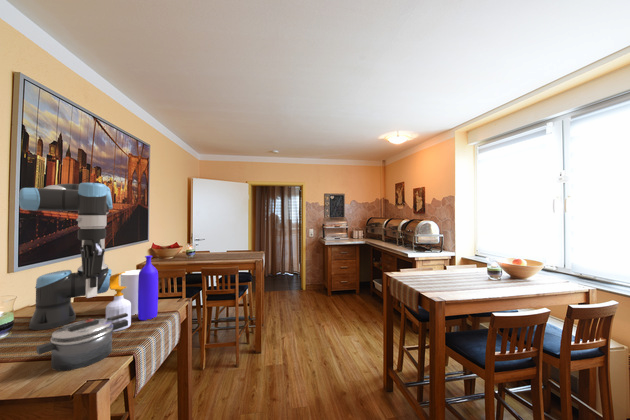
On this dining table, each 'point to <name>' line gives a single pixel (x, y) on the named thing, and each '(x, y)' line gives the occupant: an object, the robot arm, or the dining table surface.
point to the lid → (84, 327)
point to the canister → (131, 288)
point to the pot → (81, 349)
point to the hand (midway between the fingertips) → (91, 296)
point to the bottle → (148, 291)
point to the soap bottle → (118, 302)
